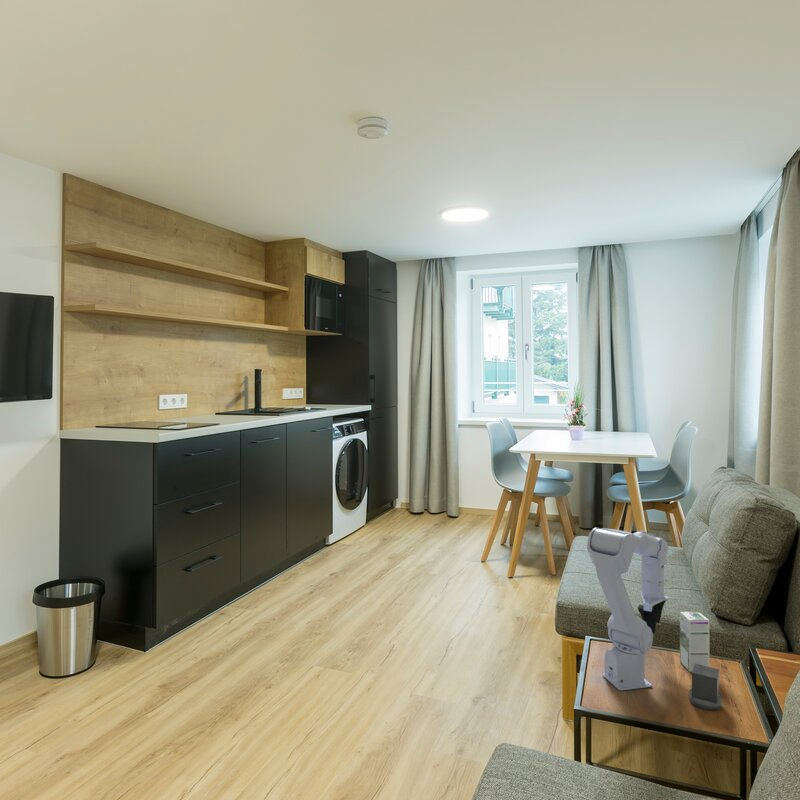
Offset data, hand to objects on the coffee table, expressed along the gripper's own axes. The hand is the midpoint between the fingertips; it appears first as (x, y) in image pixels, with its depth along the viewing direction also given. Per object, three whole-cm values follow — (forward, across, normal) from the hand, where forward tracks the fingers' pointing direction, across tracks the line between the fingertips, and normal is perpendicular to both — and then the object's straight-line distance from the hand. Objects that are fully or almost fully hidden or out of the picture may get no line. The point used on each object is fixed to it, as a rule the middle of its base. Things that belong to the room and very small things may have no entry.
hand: (652, 627), depth 160 cm
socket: (+8, -14, -15) cm, 22 cm away
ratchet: (+10, -11, -14) cm, 20 cm away
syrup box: (+11, +4, -10) cm, 15 cm away
